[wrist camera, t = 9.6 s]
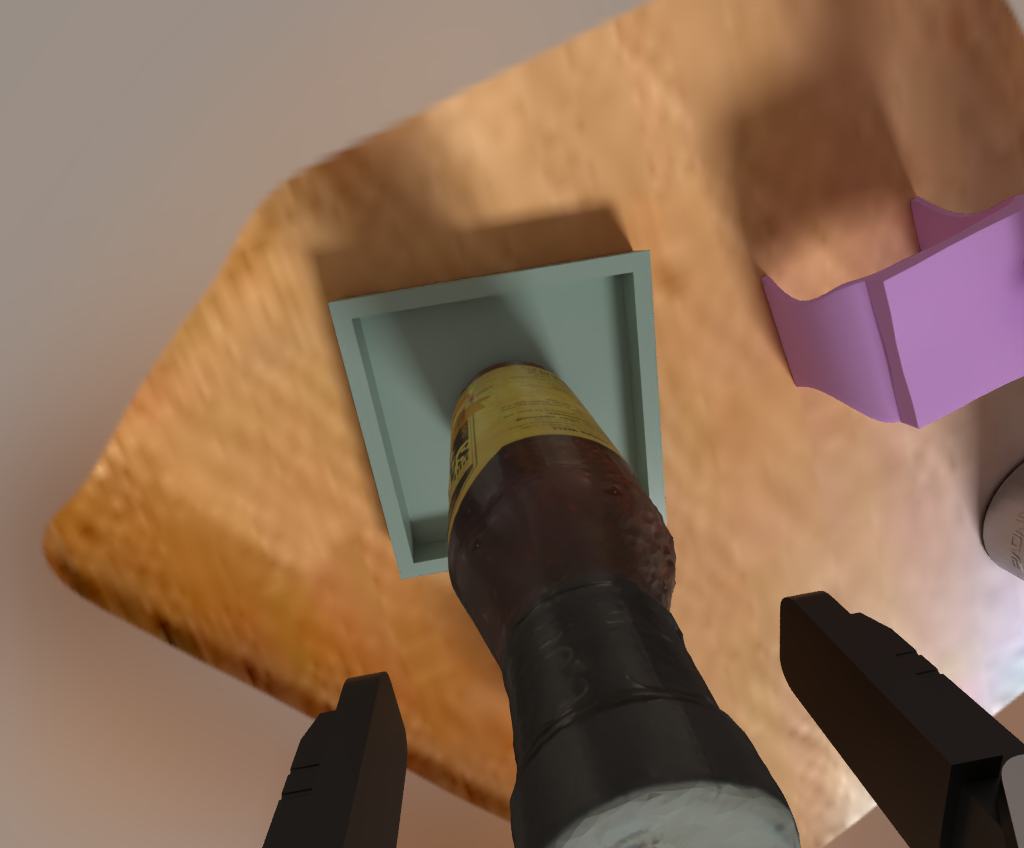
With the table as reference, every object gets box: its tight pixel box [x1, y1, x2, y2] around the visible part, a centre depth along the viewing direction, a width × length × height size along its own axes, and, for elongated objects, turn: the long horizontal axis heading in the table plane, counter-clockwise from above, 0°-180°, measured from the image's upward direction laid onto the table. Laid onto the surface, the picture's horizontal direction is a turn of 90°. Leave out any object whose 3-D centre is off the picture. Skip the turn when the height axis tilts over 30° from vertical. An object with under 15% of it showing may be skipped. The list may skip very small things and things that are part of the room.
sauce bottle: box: [447, 362, 801, 848], centre depth 16 cm, size 7×6×20 cm
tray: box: [328, 250, 667, 580], centre depth 25 cm, size 14×14×2 cm
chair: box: [761, 194, 1024, 429], centre depth 19 cm, size 8×9×15 cm
